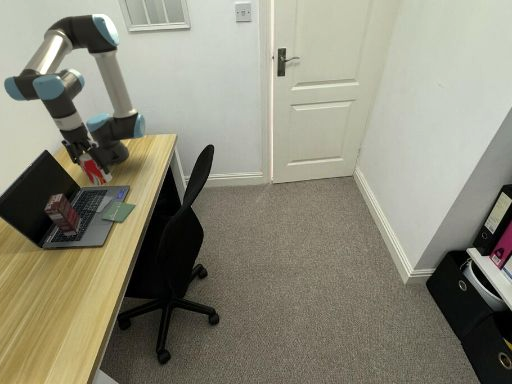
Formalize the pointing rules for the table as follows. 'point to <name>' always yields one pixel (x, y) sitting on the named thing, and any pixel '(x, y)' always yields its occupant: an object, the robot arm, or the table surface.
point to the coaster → (119, 211)
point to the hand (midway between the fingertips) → (100, 178)
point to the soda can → (91, 170)
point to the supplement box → (63, 214)
